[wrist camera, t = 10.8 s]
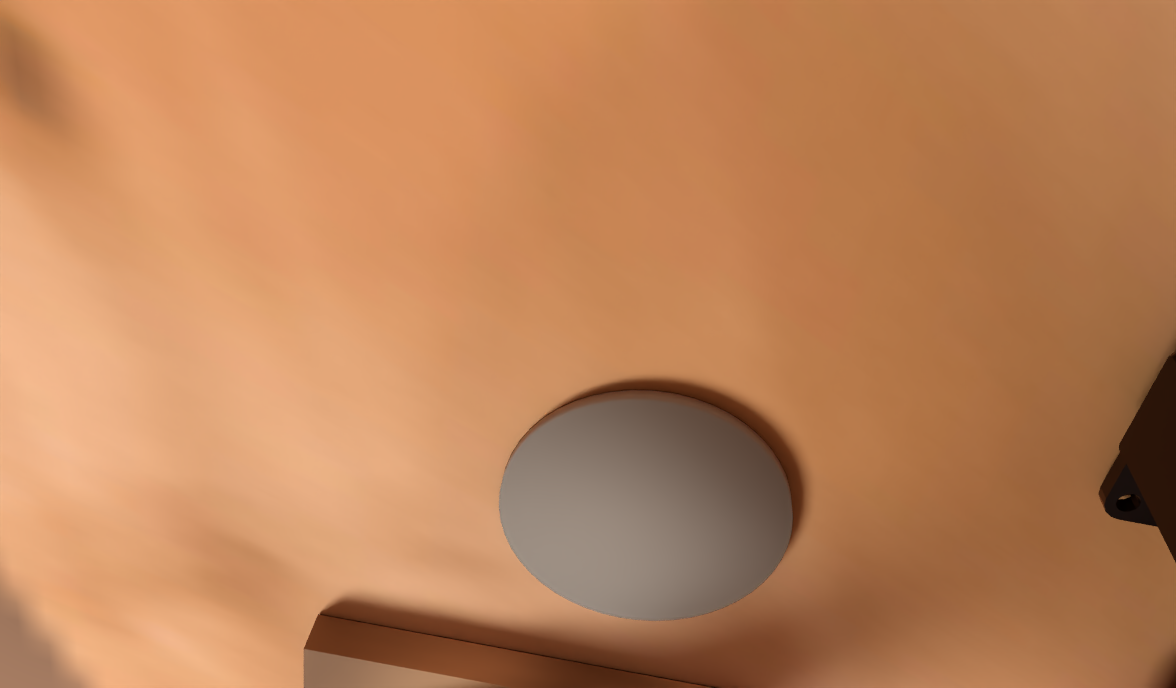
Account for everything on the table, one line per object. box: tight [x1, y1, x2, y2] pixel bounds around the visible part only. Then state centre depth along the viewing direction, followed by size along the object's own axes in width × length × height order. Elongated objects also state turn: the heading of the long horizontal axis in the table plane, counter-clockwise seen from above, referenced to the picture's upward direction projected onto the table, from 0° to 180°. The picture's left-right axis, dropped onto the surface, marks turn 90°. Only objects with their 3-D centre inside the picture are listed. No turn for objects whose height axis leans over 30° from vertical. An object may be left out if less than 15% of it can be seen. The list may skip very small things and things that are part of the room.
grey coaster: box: [499, 390, 793, 621], centre depth 25 cm, size 7×7×1 cm
